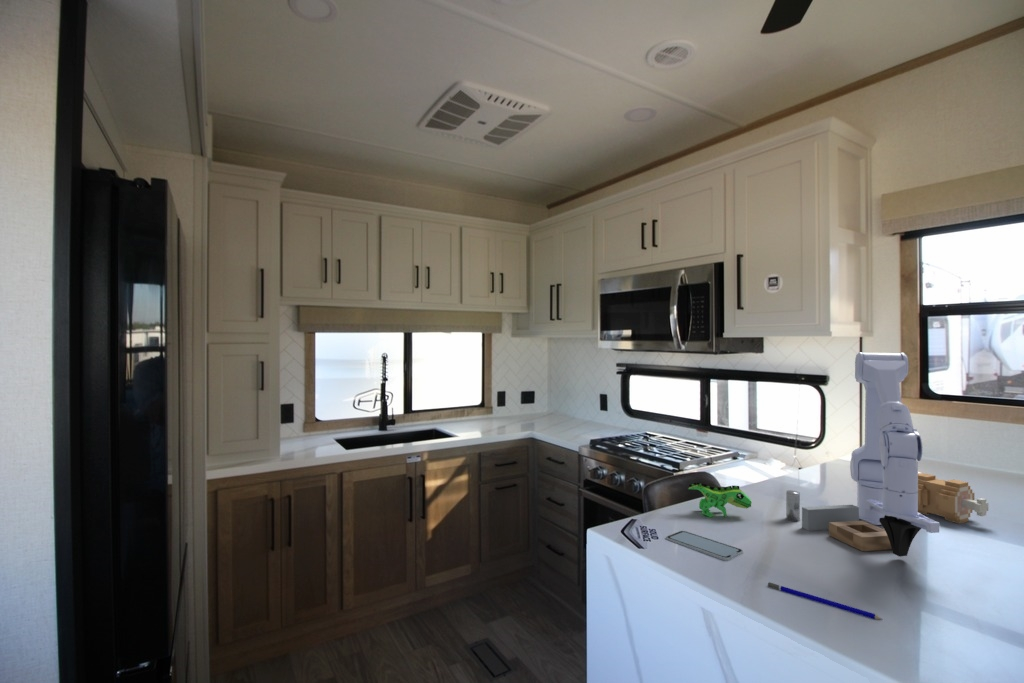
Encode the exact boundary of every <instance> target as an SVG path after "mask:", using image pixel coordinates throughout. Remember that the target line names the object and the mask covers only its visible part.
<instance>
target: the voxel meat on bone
mask: <svg viewBox="0 0 1024 683" xmlns="http://www.w3.org/2000/svg"><path fill="white" fill-rule="evenodd" d="M973 511H974V512H975V513H976V516H978V517H985V516H987V512H988V511H989V502H987V498H982V497H979V498H976V500H975V492H973V489H972V488H971V485H969V482H967V481H963V480H958V479H950V480H949V479H947V480H945V479H944V480H943V479H939V478H936V475H933V474H928V473H924V472H922V473H918V513H920V514H922V515H923V514H924V515H931V514H932V515H936V516H939V517H944V520H945V521H949V522H953V523H956V524H963V523H964V524H965V523H967V522H969V518H971V514H973Z"/></svg>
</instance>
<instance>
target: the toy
mask: <svg viewBox="0 0 1024 683" xmlns="http://www.w3.org/2000/svg"><path fill="white" fill-rule="evenodd" d="M688 486H689V487H688V488H687V490H698V491H699V492H700V493H701V494H702V495H703V496H704V497H703V498H701V499H700V500H699V503H698V504H699V507H698V508H699V509H700V510H701V513H702V515H705V516H706V517H709V518H713V515H714V514H713V513H712V512H711V510H710V509H711V508H713V507H714V508H717V509H718V510H720V511H721V512H722V514H723V516H724V517H725V518H727V517H728V513H727V508H726V507H725V506H726V505H727V504H730V505H732V506H734V507H736V508H741V509H749V508H752V500H751V498H750V497H749V496H748V495H747V494H746V493H745V492H744V491H742V490H741V489H740V485H728V486H721V487H719V486H718V487H717V486H716V487H715V486H711V485H708V484H705V483H701V482H693V483H690V484H688Z"/></svg>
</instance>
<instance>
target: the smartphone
mask: <svg viewBox="0 0 1024 683" xmlns="http://www.w3.org/2000/svg"><path fill="white" fill-rule="evenodd" d="M666 540H667V541H670V542H673V543H675V544H679V545H681V546H684V547H687V548H688V549H689V548H690V549H692V550H695V551H697V552H700V553H703V554H705V555H708V556H711V557H714V558H716V559H719V560H722V561H726V562H729V561H731V560H733V559H735V558H737V557H739V556H741V555H743V554H744V550H743V549H741V548H738V547H737V546H736V547H735V546H732V545H729V544H726V543H724V542H720V541H718V540H717V541H716V540H714V539H710V538H708V537H704V536H702V535H699V534H695V533H692V532H691V531H690V532H689V531H686V530H679V531H677V532H674V533H672V534H669V535H666Z"/></svg>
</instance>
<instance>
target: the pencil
mask: <svg viewBox="0 0 1024 683" xmlns="http://www.w3.org/2000/svg"><path fill="white" fill-rule="evenodd" d="M767 587H768V588H770V589H774V590H776V591H781V592H784V593H788V594H790V595H794V596H797V597H801V598H804V599H807V600H811V601H812V602H813V601H814V602H816V603H820V604H823V605H827V606H830V607H833V608H836V609H840V610H843V611H847V612H850V613H851V614H852V613H853V614H856V615H859V616H863V617H866V618H869V619H873V620H877V621H880V620H882V621H883V618H881V617H880V616H879V615H877V614H876V613H873V612H870V611H867V610H863V609H860V608H856V607H853V606H851V605H845V604H843V603H840V602H836V601H833V600H829V599H827V598H822V597H820V596H817V595H816V596H815V595H813V594H809V593H806V592H803V591H799V590H797V589H793V588H789V587H787V586H782V585H780V584H776V583H773V582H768V583H767Z"/></svg>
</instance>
